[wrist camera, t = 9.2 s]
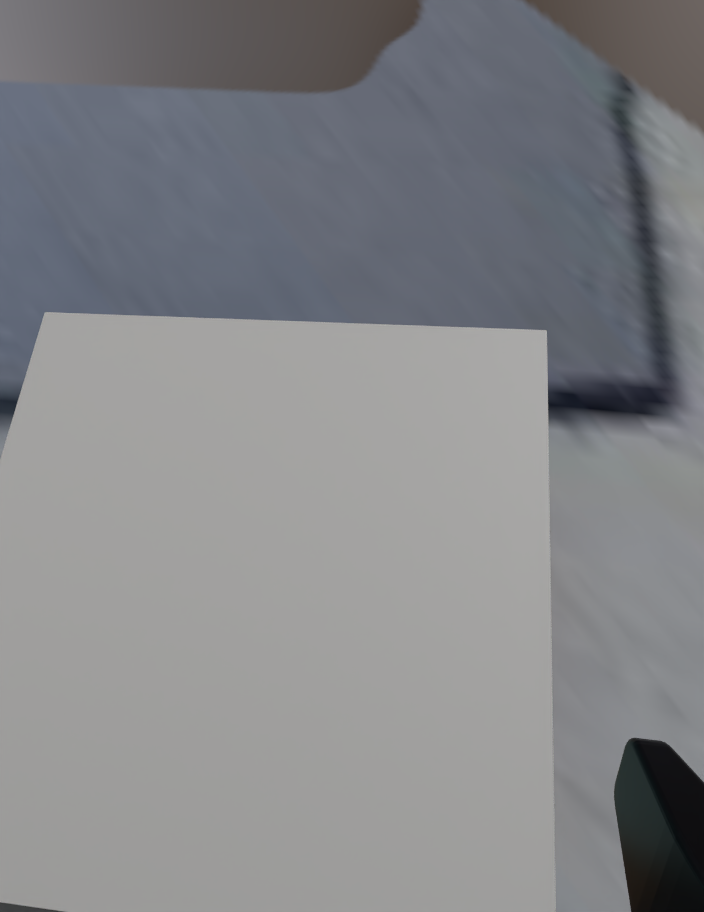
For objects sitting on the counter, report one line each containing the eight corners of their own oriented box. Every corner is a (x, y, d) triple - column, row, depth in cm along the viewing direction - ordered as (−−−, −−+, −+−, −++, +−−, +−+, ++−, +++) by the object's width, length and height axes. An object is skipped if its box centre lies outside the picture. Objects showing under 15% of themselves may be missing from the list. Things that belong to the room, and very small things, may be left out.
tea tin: (453, 781, 17) (556, 983, 5) (226, 755, 17) (-128, 882, 6) (461, 551, 19) (546, 330, 7) (258, 535, 19) (44, 312, 8)
